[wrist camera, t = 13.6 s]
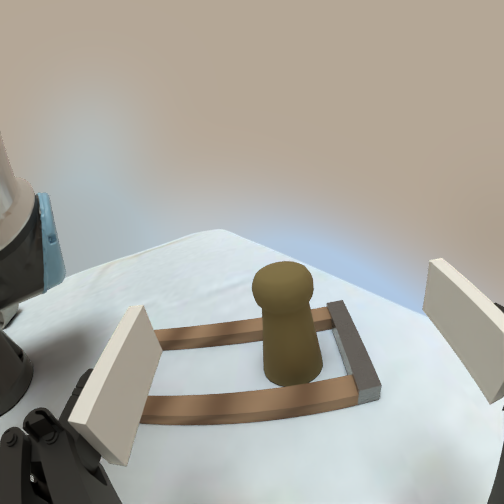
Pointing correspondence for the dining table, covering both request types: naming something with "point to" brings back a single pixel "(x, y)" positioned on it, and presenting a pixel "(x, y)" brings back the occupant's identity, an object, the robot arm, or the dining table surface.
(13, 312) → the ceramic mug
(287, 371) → the cork
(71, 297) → the dining table surface
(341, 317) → the end stop
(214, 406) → the walnut channel
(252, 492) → the dining table surface
